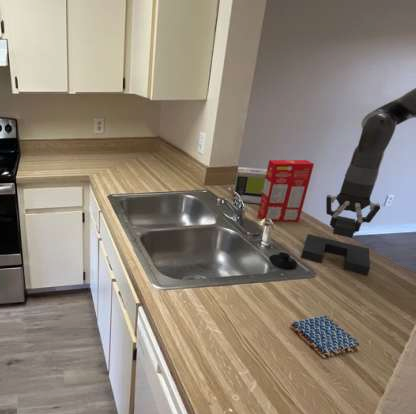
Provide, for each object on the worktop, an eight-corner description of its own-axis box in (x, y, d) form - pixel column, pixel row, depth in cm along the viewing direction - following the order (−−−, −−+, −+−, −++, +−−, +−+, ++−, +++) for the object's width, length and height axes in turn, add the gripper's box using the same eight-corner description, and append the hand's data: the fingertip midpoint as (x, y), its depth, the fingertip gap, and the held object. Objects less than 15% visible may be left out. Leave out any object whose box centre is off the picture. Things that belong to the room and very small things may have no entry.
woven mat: (287, 326, 83) (289, 320, 82) (322, 319, 85) (324, 313, 85) (321, 359, 74) (324, 352, 73) (360, 350, 76) (363, 344, 75)
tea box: (266, 198, 162) (272, 169, 156) (267, 205, 154) (274, 175, 148) (233, 194, 167) (238, 165, 161) (233, 201, 159) (238, 171, 153)
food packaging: (292, 216, 143) (306, 160, 133) (298, 221, 138) (314, 163, 128) (257, 216, 143) (269, 160, 133) (262, 221, 138) (275, 163, 128)
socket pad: (366, 256, 113) (369, 248, 112) (366, 275, 103) (370, 267, 101) (305, 241, 123) (307, 233, 122) (300, 257, 112) (302, 249, 111)
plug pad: (352, 227, 109) (355, 219, 107) (352, 238, 102) (355, 229, 101) (334, 223, 111) (336, 215, 110) (332, 233, 105) (335, 225, 103)
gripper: (330, 178, 101) (316, 228, 108) (391, 187, 93) (371, 240, 100) (332, 172, 106) (318, 220, 113) (389, 180, 99) (370, 231, 105)
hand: (343, 229), depth 106 cm, fingers closed on plug pad, 5 cm apart
